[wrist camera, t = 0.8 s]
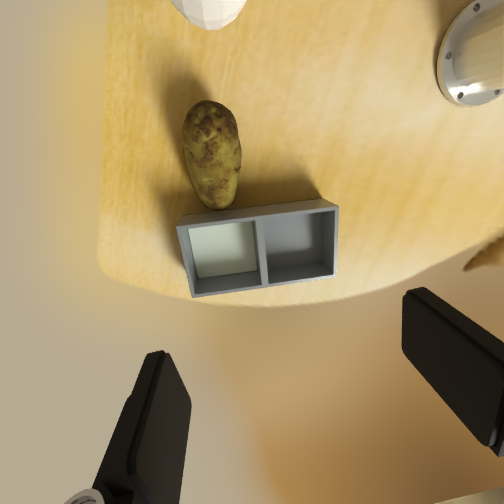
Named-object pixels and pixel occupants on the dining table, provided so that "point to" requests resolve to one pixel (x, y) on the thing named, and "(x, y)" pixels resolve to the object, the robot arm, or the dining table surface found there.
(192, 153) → the potato
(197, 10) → the cup
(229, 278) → the divided open storage box
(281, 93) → the dining table surface
